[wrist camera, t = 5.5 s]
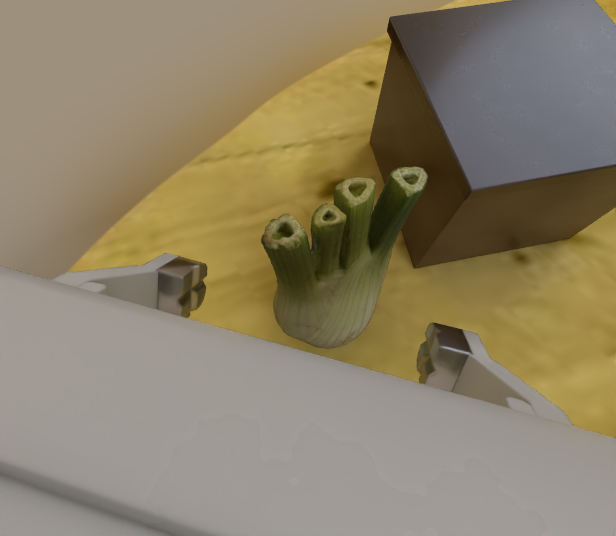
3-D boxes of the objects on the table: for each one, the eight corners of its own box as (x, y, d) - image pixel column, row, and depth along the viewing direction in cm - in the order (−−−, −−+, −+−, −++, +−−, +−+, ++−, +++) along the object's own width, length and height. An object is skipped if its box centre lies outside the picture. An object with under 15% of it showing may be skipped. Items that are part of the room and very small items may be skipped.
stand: (503, 116, 28) (586, -11, 19) (575, 242, 23) (722, 146, 15) (364, 138, 27) (389, 16, 19) (411, 273, 22) (471, 191, 14)
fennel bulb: (370, 276, 22) (432, 141, 11) (376, 353, 20) (456, 281, 9) (281, 276, 22) (255, 140, 11) (278, 353, 20) (243, 280, 9)
